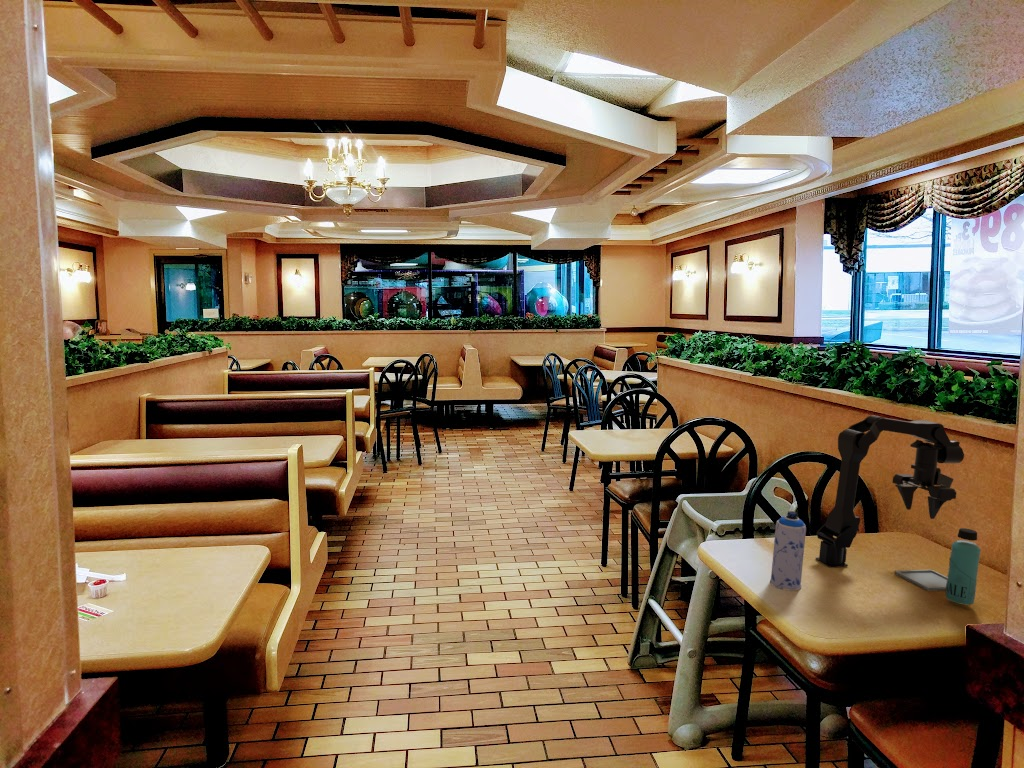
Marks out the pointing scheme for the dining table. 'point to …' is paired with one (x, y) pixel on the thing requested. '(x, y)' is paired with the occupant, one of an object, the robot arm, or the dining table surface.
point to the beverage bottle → (963, 568)
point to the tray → (925, 579)
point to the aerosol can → (788, 552)
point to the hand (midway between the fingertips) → (920, 514)
